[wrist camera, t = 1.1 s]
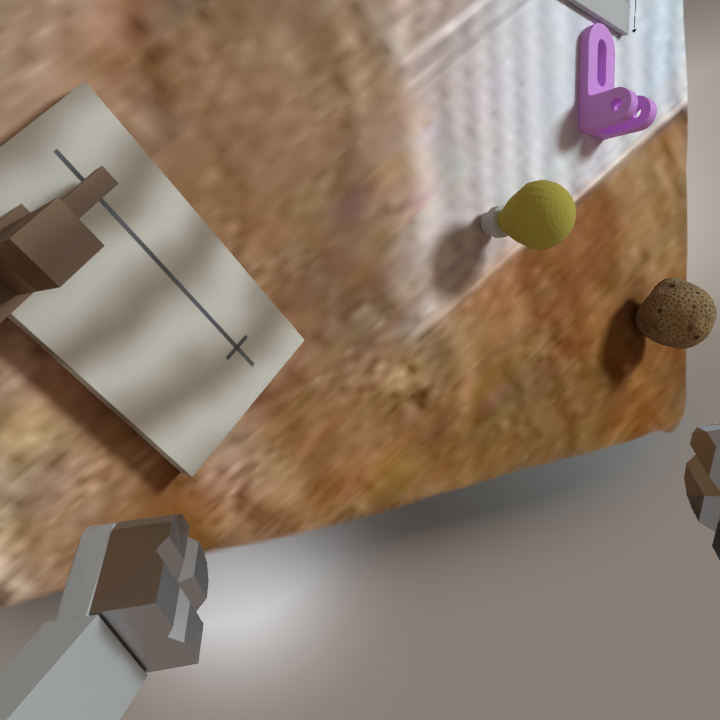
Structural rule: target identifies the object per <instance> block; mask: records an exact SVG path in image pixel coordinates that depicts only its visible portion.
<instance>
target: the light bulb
mask: <svg viewBox="0 0 720 720" xmlns="http://www.w3.org/2000/svg"><path fill="white" fill-rule="evenodd" d="M575 218H576V209H575V204H574V201H573V198H572V197H571V195H570V194H569V192H568V191H567V190H566V189H565V188H563V187H562V186H561V185H559V184H557V183H554V182H551V181H547V180H538V181H534V182H530V183H527V184H526V185H525V186H524V187H522V188H521V189H520V190H519V191H518V192H517V193H516V194H515V195H514V196H513V197H511V198H510V199H509V201H508V202H507V203H506V205H505V206H497V207H493V208H491V209H490V210H489V212H487V213H484V214H483V215H482V217H481V223H480V224H481V229H482V231H483V232H484V233H485V234H486V235H492V236H493V237H495V238H501V237H506V236H510V237H511V238H512V239H514V240H515V241H517V242H519V243H521V244H523V245H525V246H527V247H529V248H531V249H536V250H543V249H548V248H550V247H553V246H556V245H558V244H559V243H561V242H562V241H563V240H564V239H565V238H566V237H567V236H568V235H569V233H570V232H571V230H572V228H573V226H574V222H575Z"/></svg>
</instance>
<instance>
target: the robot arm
mask: <svg viewBox="0 0 720 720" xmlns="http://www.w3.org/2000/svg"><path fill="white" fill-rule="evenodd" d="M690 444H691V447H692V448H693V450H694V452H695V453H696V455H695V456H694V457H693V458H692V459H690V460H689V461H688V462H687V463H686V469H685V476H684V480H685V486H686V493H687V496H688V499H689V502H690V504H691V508H692V509H693V511H694V513H695V515H696V517H697V519H698V521H699V522H700V523H702V524H704V525H705V526H707V527H708V528H710V529H712V530H713V531H715V536H714V541H713V544H712V547H713V549H714V550H715V552H716V554H717V556H718V557H719V560H720V423H718V424H712V425H707V426H702V427H697V428H696V429H695V431H694V432H693V433H692V438H691V443H690ZM188 532H189V524H188V523H187V521H186V519H185V518H184V516H183V515H182V514H173V515H166V516H158V517H151V518H144V519H137V520H129V521H122V522H116V523H109V524H103V525H96V526H90V527H88V528H87V529H86V530H85V532H84V533H83V534H82V536H81V538H80V541H79V544H78V548H77V551H76V554H75V557H74V560H73V564H72V567H71V570H70V573H69V576H68V580H67V583H66V586H65V589H64V592H63V596H62V599H61V602H60V605H59V608H58V612H57V615H56V618H55V621H51V622H46V623H45V624H44V625H43V626H42V627H41V628H40V629H39V630H38V631H37V633H36V634H35V635H34V636H33V637H32V638H31V639H30V640H29V641H28V642H27V643H26V645H25V646H24V647H23V648H22V649H21V650H20V651H19V652H18V654H16V655H15V657H14V658H13V659H12V660H11V661H10V662H9V663H8V664H7V665H6V667H5V668H4V669H3V670H2V671H1V672H0V720H120V718H121V717H122V715H123V713H124V712H125V710H126V709H127V707H128V706H129V704H130V702H131V701H132V699H133V698H134V696H135V695H136V693H137V691H138V690H139V688H140V687H141V685H142V684H143V682H144V680H145V679H146V677H147V674H146V672H152V671H158V670H163V669H169V668H175V667H181V666H186V665H192V664H197V663H198V660H199V653H200V645H201V638H202V631H203V622H202V621H201V619H200V618H199V616H198V614H197V613H196V611H197V610H198V608H199V607H200V606H201V605H202V603H203V602H204V601H205V599H206V598H207V590H208V569H207V562H206V558H205V554H204V551H203V549H202V547H201V545H200V544H199V542H198V541H196V540H193V539H191V538H189V537H188Z"/></svg>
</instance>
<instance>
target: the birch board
mask: <svg viewBox="0 0 720 720" xmlns="http://www.w3.org/2000/svg"><path fill="white" fill-rule="evenodd" d="M101 166H103V167H104V168H105V169H106V170H107V171H108V172H109V173H110V175H111V176H112V177H113V178H114V179H115V180H116V181H117V182H118V185H117V186H115V187H114V188H113V189H112V190H111V191H110V192H109V193H108V194H106V195H105V196H104V197H103V198H102V199H101V200H100V201H99V202H97V203H96V204H95V205H94V206H93V207H92V208H91V209H90V210H88V211H87V212H86V213H85V214H84V215H83V216H82V217H81V218H79V219H80V220H81V221H82V222H83V223H84V225H85V226H86V227H87V228H88V229H89V230H90V231H91V232H92V233H93V234H94V235H95V236H96V237H97V238H98V239H99V240H100V241H101V242H102V243H103V244H104V245H105V246H104V247H103V248H102V249H101V250H100V251H99V252H98V253H96V254H95V255H94V256H93V257H92V258H91V259H90V260H89V261H88V262H87V263H86V264H85V265H84V266H83V267H81V268H80V269H79V270H78V271H77V272H76V273H75V274H74V275H73V276H72V277H71V278H70V279H69V280H68V281H66V282H65V283H64V284H63V285H62V286H61V287H59V288H54V289H49V290H43V291H38V292H34V293H33V294H32V295H30V296H29V297H28V298H27V299H26V300H25V301H24V302H23V303H22V304H21V305H20V306H18V307H17V308H16V309H15V310H14V311H13V312H12V313H11V314H10V315H9V316H8V318H9V319H10V320H11V321H12V322H13V323H15V324H16V325H17V326H18V327H19V328H20V329H21V330H22V331H24V332H25V333H26V334H27V335H28V336H29V337H30V338H31V339H32V340H34V341H35V342H36V343H37V344H38V345H39V346H40V347H41V348H43V349H44V350H45V351H46V352H47V353H48V354H49V355H50V356H51V357H53V358H54V359H55V360H56V361H57V362H58V363H59V364H60V365H61V366H63V367H64V368H65V369H66V370H67V371H68V372H69V373H70V374H72V375H73V376H74V377H75V378H76V379H77V380H78V381H79V382H80V383H82V384H83V385H84V386H85V387H86V388H87V389H88V390H89V391H91V392H92V393H93V394H94V395H95V396H96V397H97V398H98V399H99V400H101V401H102V402H103V403H104V404H105V405H106V406H107V407H108V408H110V409H111V410H112V411H113V412H114V413H115V414H116V415H117V416H118V417H120V418H121V419H122V420H123V421H124V422H125V423H126V424H127V425H129V426H130V427H131V428H132V429H133V430H134V431H135V432H136V433H137V434H139V435H140V436H141V437H142V438H143V439H144V440H145V441H146V442H147V443H149V444H150V445H151V446H152V447H153V448H154V449H155V450H156V451H158V452H159V453H160V454H161V455H162V456H163V457H164V458H165V459H166V460H168V461H169V462H170V463H171V464H172V465H173V466H174V467H175V468H177V469H178V470H179V471H180V472H181V473H184V474H186V475H189V476H191V477H193V475H194V474H195V473H196V472H197V471H198V469H199V468H200V467H201V466H202V464H203V463H204V462H205V461H206V460H207V458H208V457H209V456H210V455H211V453H212V452H213V451H214V450H215V449H216V447H217V446H218V445H219V444H220V442H221V441H222V440H223V439H224V438H225V436H226V435H227V434H228V433H229V431H230V430H231V429H232V428H233V427H234V425H235V424H236V423H237V422H238V420H239V419H240V418H241V417H242V416H243V414H244V413H245V412H246V411H247V409H248V408H249V407H250V406H251V405H252V403H253V402H254V401H255V400H256V398H257V397H258V396H259V395H260V394H261V392H262V391H263V390H264V389H265V387H266V386H267V385H268V384H269V383H270V381H271V380H272V379H273V378H274V376H275V375H276V374H277V373H278V372H279V370H280V369H281V368H282V367H283V365H284V364H285V363H286V362H287V361H288V359H289V358H290V357H291V356H292V354H293V353H294V352H295V351H296V350H297V348H298V347H299V346H300V345H301V343H302V342H303V341H304V339H303V338H302V337H301V335H300V334H299V333H298V332H297V331H296V329H295V328H294V327H293V326H292V325H291V324H290V322H289V321H288V320H287V319H286V318H285V317H284V315H283V314H282V313H281V312H280V311H279V309H278V308H277V307H276V306H275V305H274V304H273V302H272V301H271V300H270V299H269V298H268V296H267V295H266V294H265V293H264V292H263V291H262V289H261V288H260V287H259V286H258V285H257V283H256V282H255V281H254V280H253V279H252V278H251V276H250V275H249V274H248V273H247V272H246V270H245V269H244V268H243V267H242V266H241V265H240V263H239V262H238V261H237V260H236V259H235V258H234V256H233V255H232V254H231V253H230V252H229V250H228V249H227V248H226V247H225V246H224V245H223V243H222V242H221V241H220V240H219V239H218V237H217V236H216V235H215V234H214V233H213V232H212V230H211V229H210V228H209V227H208V226H207V224H206V223H205V222H204V221H203V220H202V219H201V217H200V216H199V215H198V214H197V213H196V211H195V210H194V209H193V208H192V207H191V206H190V204H189V203H188V202H187V201H186V200H185V199H184V197H183V196H182V195H181V194H180V193H179V191H178V190H177V189H176V188H175V187H174V186H173V184H172V183H171V182H170V181H169V180H168V178H167V177H166V176H165V175H164V174H163V173H162V171H161V170H160V169H159V168H158V167H157V165H156V164H155V163H154V162H153V161H152V160H151V158H150V157H149V156H148V155H147V154H146V152H145V151H144V150H143V149H142V148H141V147H140V145H139V144H138V143H137V142H136V141H135V139H134V138H133V137H132V136H131V135H130V134H129V132H128V131H127V130H126V129H125V128H124V127H123V125H122V124H121V123H120V122H119V121H118V119H117V118H116V117H115V116H114V115H113V114H112V112H111V111H110V110H109V109H108V108H107V106H106V105H105V104H104V103H103V102H102V101H101V99H100V98H99V97H98V96H97V95H96V93H95V92H94V91H93V90H92V89H91V88H90V86H89V85H88V84H87V83H86V82H85V81H84V82H83V83H82V84H80V85H79V86H78V87H76V88H75V89H74V90H73V91H71V92H70V93H69V94H67V95H66V96H65V97H64V98H62V99H61V100H60V101H58V102H57V103H56V104H55V105H53V106H52V107H51V108H49V109H48V110H47V111H46V112H44V113H43V114H42V115H40V116H39V117H38V118H37V119H35V120H34V121H33V122H31V123H30V124H29V125H28V126H26V127H25V128H24V129H22V130H21V131H20V132H19V133H17V134H16V135H15V136H13V137H12V138H11V139H10V140H8V141H7V142H6V143H4V144H3V145H2V146H1V147H0V219H1V218H2V217H3V216H4V215H5V214H7V213H8V212H9V211H10V210H12V209H14V208H15V207H17V206H18V205H20V204H22V205H23V206H24V207H25V208H26V209H27V210H28V211H29V212H30V213H31V212H33V211H34V210H36V209H38V208H40V207H41V206H43V205H45V204H47V203H48V202H50V201H52V200H54V199H56V198H57V197H59V198H60V199H62V198H63V197H64V196H65V195H67V194H68V193H69V192H70V191H71V190H72V189H74V188H75V187H76V186H77V185H78V184H79V183H81V182H82V181H83V180H84V179H85V178H86V177H88V176H89V175H90V174H91V173H92V172H93V171H95V170H96V169H98V168H99V167H101Z"/></svg>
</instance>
